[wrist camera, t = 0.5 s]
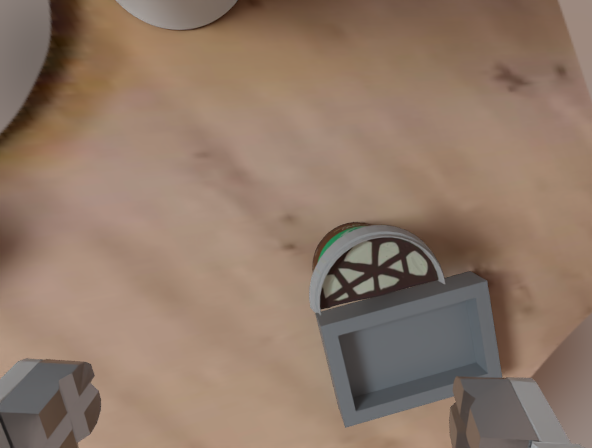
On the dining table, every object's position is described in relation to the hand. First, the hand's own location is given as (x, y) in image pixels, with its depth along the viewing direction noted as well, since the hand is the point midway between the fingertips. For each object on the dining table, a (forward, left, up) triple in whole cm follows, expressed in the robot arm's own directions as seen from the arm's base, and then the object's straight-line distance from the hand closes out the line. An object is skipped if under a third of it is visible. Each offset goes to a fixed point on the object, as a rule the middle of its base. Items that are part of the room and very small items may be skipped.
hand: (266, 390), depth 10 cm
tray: (+20, +12, -36) cm, 43 cm away
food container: (+7, +9, -36) cm, 38 cm away
